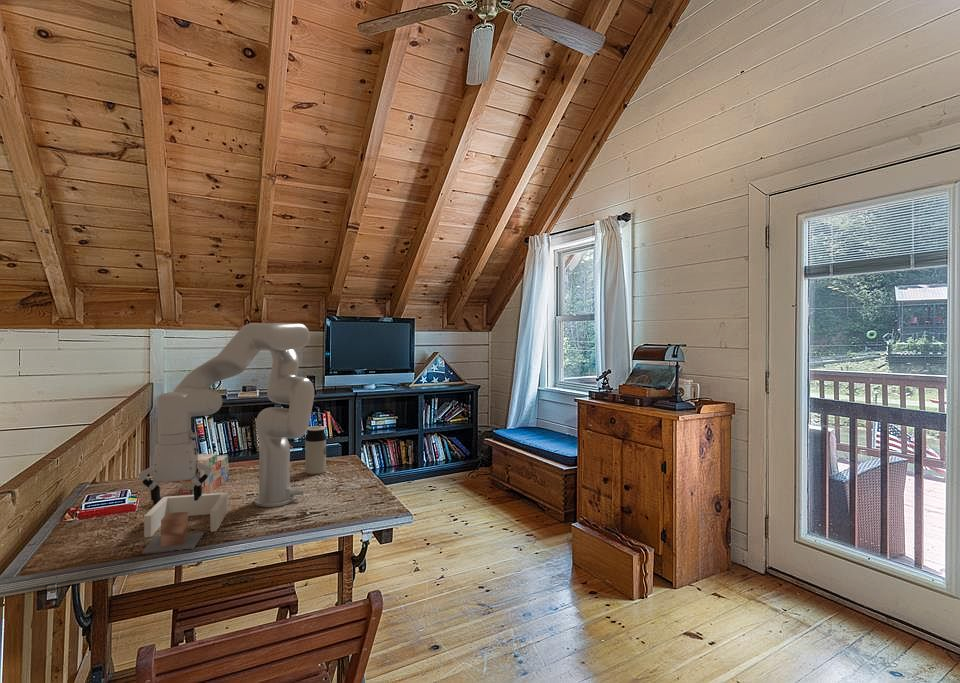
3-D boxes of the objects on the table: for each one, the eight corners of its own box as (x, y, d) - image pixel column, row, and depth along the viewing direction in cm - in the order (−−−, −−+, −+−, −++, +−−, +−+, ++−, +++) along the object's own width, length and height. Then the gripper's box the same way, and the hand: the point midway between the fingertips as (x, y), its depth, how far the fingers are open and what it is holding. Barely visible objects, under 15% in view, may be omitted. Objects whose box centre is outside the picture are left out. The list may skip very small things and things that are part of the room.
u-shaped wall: (228, 510, 156) (228, 492, 156) (216, 531, 141) (216, 510, 141) (163, 516, 151) (163, 496, 151) (144, 537, 136) (144, 516, 136)
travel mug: (301, 473, 196) (301, 429, 196) (311, 468, 204) (311, 425, 204) (319, 475, 195) (320, 430, 195) (329, 469, 203) (329, 426, 202)
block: (187, 536, 136) (187, 511, 135) (182, 544, 131) (182, 518, 131) (167, 538, 134) (167, 513, 134) (160, 546, 129) (160, 520, 129)
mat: (204, 533, 139) (204, 531, 139) (194, 549, 129) (194, 547, 129) (155, 538, 136) (155, 536, 136) (141, 554, 126) (141, 552, 126)
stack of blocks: (212, 479, 188) (212, 447, 188) (228, 479, 188) (228, 447, 188) (181, 498, 167) (181, 462, 166) (200, 498, 167) (200, 462, 167)
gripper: (214, 433, 138) (215, 492, 139) (143, 437, 133) (145, 499, 134) (207, 439, 131) (209, 502, 132) (132, 444, 126) (134, 509, 127)
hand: (177, 500), depth 133 cm, fingers open, 9 cm apart
